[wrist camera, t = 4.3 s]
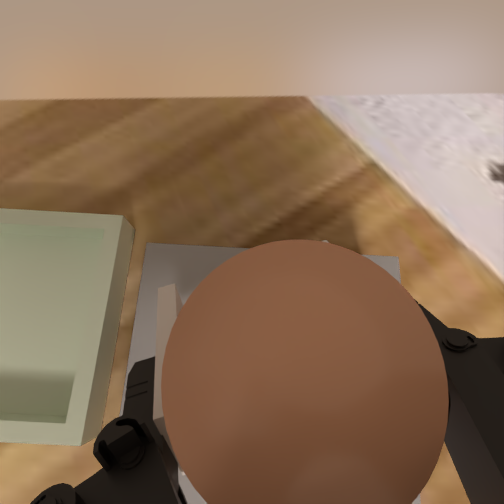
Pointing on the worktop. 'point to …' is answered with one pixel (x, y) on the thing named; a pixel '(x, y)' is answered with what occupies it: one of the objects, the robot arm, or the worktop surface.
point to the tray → (59, 321)
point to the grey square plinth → (186, 280)
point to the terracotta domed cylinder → (304, 381)
